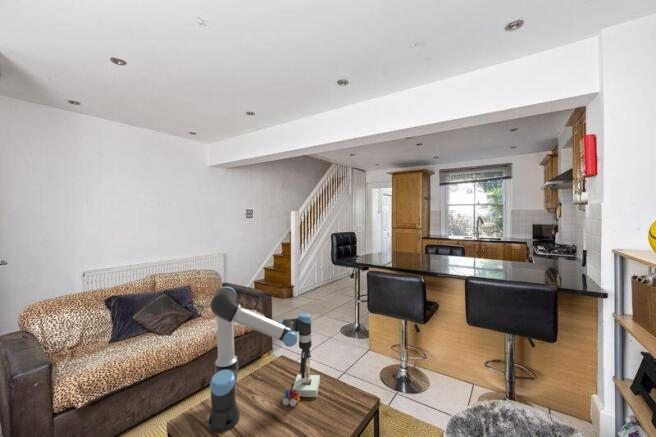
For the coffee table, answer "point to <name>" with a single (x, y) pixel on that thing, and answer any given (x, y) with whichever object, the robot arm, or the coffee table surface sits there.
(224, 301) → the robot arm
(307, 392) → the socket block
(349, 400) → the coffee table surface
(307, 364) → the peg
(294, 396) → the rainbow wheeled toy
